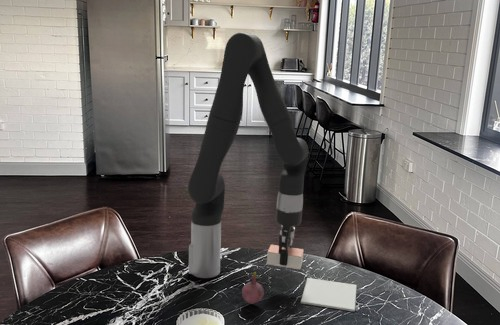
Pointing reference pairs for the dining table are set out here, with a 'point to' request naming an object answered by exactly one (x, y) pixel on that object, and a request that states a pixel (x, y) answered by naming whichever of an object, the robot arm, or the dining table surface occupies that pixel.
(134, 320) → the dining table surface
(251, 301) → the vegetable
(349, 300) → the mat
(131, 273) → the dining table surface
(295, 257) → the card box
